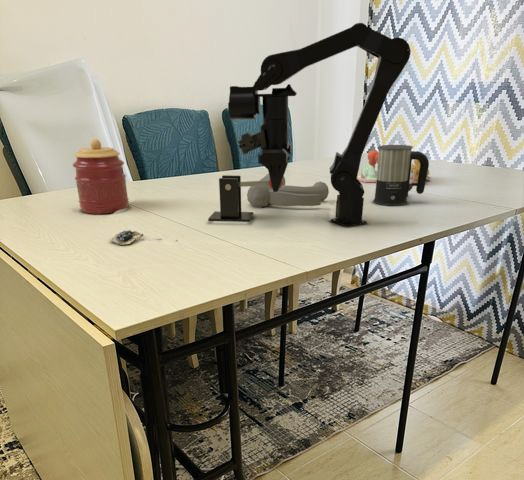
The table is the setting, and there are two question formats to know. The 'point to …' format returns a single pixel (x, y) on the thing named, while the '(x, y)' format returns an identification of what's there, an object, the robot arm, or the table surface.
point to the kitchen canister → (100, 179)
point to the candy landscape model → (369, 171)
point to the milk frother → (398, 174)
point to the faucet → (287, 195)
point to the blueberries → (125, 237)
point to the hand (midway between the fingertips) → (276, 190)
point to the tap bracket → (230, 201)
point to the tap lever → (257, 183)
